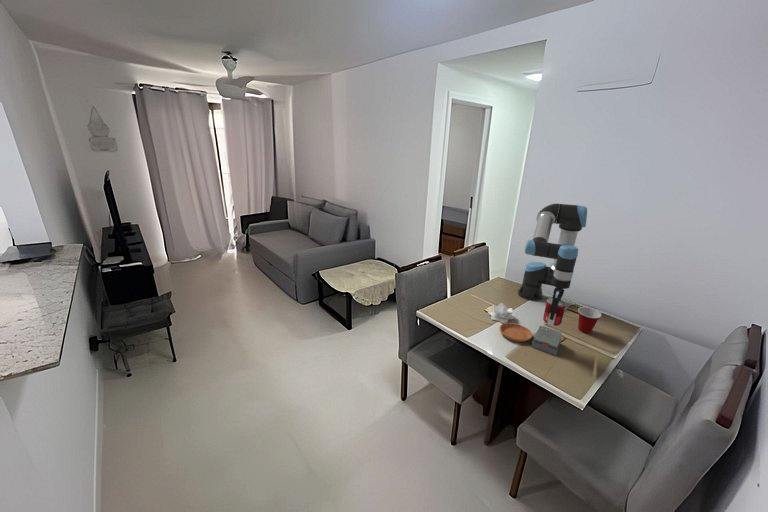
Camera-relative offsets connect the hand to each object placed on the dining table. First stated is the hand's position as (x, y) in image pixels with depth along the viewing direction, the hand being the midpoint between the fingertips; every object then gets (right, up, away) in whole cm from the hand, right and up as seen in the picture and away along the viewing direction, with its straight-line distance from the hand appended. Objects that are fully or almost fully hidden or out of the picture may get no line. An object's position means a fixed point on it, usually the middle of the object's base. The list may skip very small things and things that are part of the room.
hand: (551, 321), depth 148 cm
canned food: (0, -1, 0) cm, 0 cm away
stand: (0, -13, +4) cm, 14 cm away
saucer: (-13, -10, +12) cm, 21 cm away
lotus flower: (-14, -4, +30) cm, 33 cm away
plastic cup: (+28, -10, +19) cm, 35 cm away
